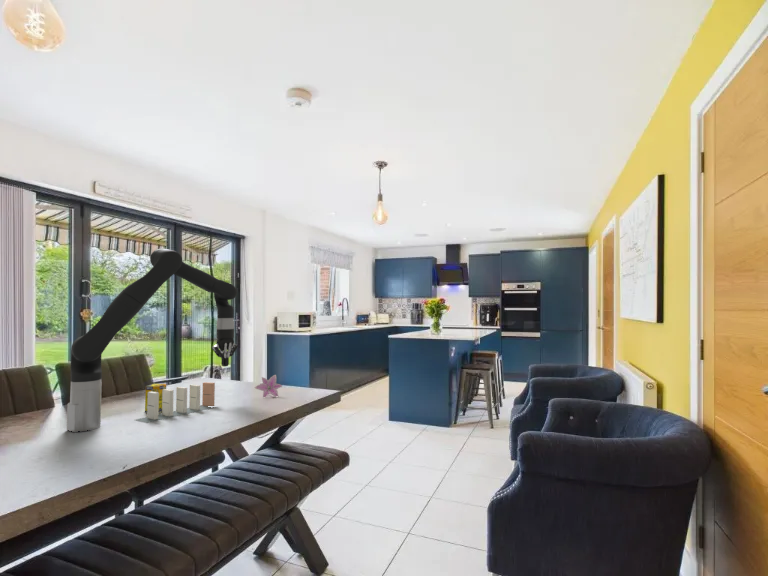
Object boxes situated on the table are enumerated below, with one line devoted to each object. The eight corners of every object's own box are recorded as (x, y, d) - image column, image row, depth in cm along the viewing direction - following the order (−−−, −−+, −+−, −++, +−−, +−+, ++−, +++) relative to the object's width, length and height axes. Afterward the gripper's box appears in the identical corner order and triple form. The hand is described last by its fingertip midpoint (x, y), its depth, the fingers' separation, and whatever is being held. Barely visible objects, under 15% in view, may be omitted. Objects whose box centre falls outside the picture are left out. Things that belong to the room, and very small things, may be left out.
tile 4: (169, 416, 169) (169, 390, 169) (161, 414, 172) (162, 389, 172) (173, 415, 170) (173, 390, 171) (165, 413, 173) (166, 388, 173)
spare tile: (211, 406, 186) (212, 383, 186) (202, 405, 187) (202, 382, 188) (214, 405, 187) (214, 382, 188) (204, 405, 189) (205, 382, 189)
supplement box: (158, 412, 176) (159, 386, 177) (144, 412, 176) (145, 386, 177) (166, 409, 182) (166, 383, 182) (152, 409, 182) (153, 383, 183)
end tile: (154, 419, 164) (154, 393, 164) (147, 417, 167) (147, 392, 167) (158, 418, 165) (158, 392, 166) (151, 417, 168) (151, 391, 168)
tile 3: (183, 413, 174) (183, 388, 175) (176, 411, 177) (176, 387, 177) (186, 412, 175) (187, 387, 176) (179, 410, 178) (180, 386, 179)
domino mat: (146, 423, 159) (146, 423, 159) (133, 420, 164) (133, 419, 164) (218, 407, 185) (218, 406, 185) (205, 404, 190) (205, 404, 190)
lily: (251, 399, 206) (253, 383, 202) (261, 386, 217) (264, 370, 213) (274, 407, 205) (277, 391, 201) (283, 393, 216) (286, 378, 212)
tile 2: (196, 410, 179) (196, 386, 180) (189, 408, 182) (189, 385, 182) (200, 409, 180) (200, 385, 181) (192, 407, 183) (193, 384, 184)
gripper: (218, 328, 188) (217, 368, 187) (242, 327, 199) (242, 365, 198) (207, 328, 192) (207, 367, 191) (232, 327, 203) (231, 364, 202)
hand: (225, 366), depth 195 cm, fingers closed
